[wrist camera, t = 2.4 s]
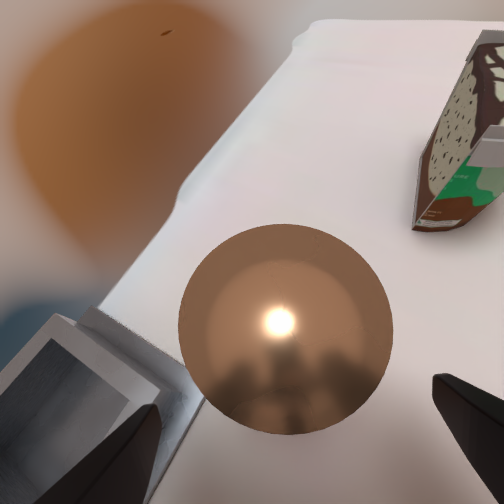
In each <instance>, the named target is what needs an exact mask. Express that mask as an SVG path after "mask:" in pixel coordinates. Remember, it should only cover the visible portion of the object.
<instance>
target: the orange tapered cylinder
mask: <svg viewBox="0 0 504 504" xmlns="http://www.w3.org/2000/svg"><path fill="white" fill-rule="evenodd" d="M178 333H179V343H180V348H181V353H182V356H183V359H184V362H185V365H186V368H187V370H188V372H189V374H190V376H191V378H192V380H193V381H194V383H195V384H196V386H197V387H198V389H199V390H200V392H201V393H202V394H203V395H204V396H205V397H206V399H207V400H208V401H209V402H210V403H211V404H212V405H213V406H214V407H216V408H217V409H218V410H219V411H221V412H222V413H223V414H224V415H226V416H227V417H229V418H231V419H233V420H234V421H236V422H238V423H239V424H242V425H244V426H247V427H249V428H252V429H254V430H258V431H263V432H267V433H271V434H284V435H293V434H305V433H310V432H314V431H318V430H322V429H325V428H327V427H329V426H332V425H334V424H336V423H338V422H340V421H342V420H343V419H345V418H346V417H348V416H349V415H351V414H353V413H354V412H355V411H356V410H357V409H358V408H359V407H360V406H362V405H363V404H364V403H365V402H366V401H367V400H368V398H369V397H370V396H371V394H372V393H373V392H374V391H375V389H376V388H377V386H378V384H379V383H380V381H381V379H382V377H383V375H384V373H385V370H386V368H387V365H388V362H389V359H390V354H391V349H392V344H393V322H392V313H391V309H390V305H389V301H388V298H387V296H386V293H385V290H384V288H383V286H382V284H381V282H380V280H379V279H378V277H377V275H376V274H375V272H374V271H373V270H372V268H371V267H370V265H369V264H368V263H367V262H366V261H365V260H364V259H363V258H362V257H361V255H359V254H358V253H357V252H356V251H355V250H354V249H352V248H351V247H350V246H349V245H347V244H346V243H344V242H343V241H341V240H339V239H338V238H336V237H334V236H332V235H330V234H328V233H325V232H323V231H320V230H317V229H314V228H310V227H306V226H300V225H292V224H273V225H266V226H260V227H256V228H252V229H249V230H247V231H244V232H241V233H239V234H237V235H235V236H233V237H231V238H229V239H228V240H226V241H224V242H223V243H221V244H220V245H219V246H218V247H216V248H215V249H214V250H212V251H211V252H210V253H209V254H208V255H207V256H206V257H205V258H204V260H203V261H202V262H201V263H200V265H199V266H198V267H197V269H196V270H195V272H194V273H193V275H192V276H191V278H190V280H189V282H188V284H187V287H186V289H185V292H184V295H183V298H182V301H181V306H180V311H179V321H178Z"/></svg>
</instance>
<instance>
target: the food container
mask: <svg viewBox="0 0 504 504" xmlns="http://www.w3.org/2000/svg"><path fill="white" fill-rule="evenodd" d="M466 61H467V62H466V64H465V66H464V69H463V71H462V73H461V75H460V77H459V79H458V81H457V83H456V85H455V87H454V89H453V91H452V93H451V95H450V97H449V99H448V101H447V103H446V106H445V108H444V110H443V112H442V114H441V116H440V118H439V120H438V122H437V124H436V126H435V128H434V130H433V132H432V134H431V136H430V138H429V141H428V143H427V145H426V147H425V149H424V151H423V153H422V155H421V157H420V162H419V171H418V179H417V188H416V196H415V205H414V214H413V222H412V230H415V231H422V232H439V231H449V230H452V229H455V228H458V227H461V226H464V225H465V224H466V223H467V222H468V221H470V220H471V219H472V218H473V217H475V216H476V215H477V214H478V213H479V212H480V211H482V210H483V209H484V208H485V207H486V206H487V205H489V204H490V203H491V202H492V201H493V200H494V199H496V198H497V197H498V196H499V195H500V194H501V193H503V192H504V31H502V30H482V32H481V34H480V36H479V38H478V39H477V40H476V42H475V44H474V46H473V47H472V49H471V51H470V53H469V55H468V56H467V58H466Z"/></svg>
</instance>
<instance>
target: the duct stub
mask: <svg viewBox="0 0 504 504" xmlns="http://www.w3.org/2000/svg"><path fill="white" fill-rule="evenodd" d="M205 398H206V397H205V396H204V395H203V394H202V393H201V392H200V390H199V389H198V387H197V386H196V384H195V383H194V381H193V380H192V378H191V376H190V374H189V372H188V370H187V368H186V367H184V366H183V365H181V364H180V363H178V362H177V361H175V360H174V359H172V358H171V357H169V356H168V355H166V354H165V353H163V352H162V351H160V350H159V349H157V348H156V347H154V346H153V345H151V344H150V343H148V342H146V341H145V340H143V339H142V338H140V337H139V336H137V335H136V334H134V333H133V332H131V331H130V330H128V329H127V328H125V327H124V326H122V325H121V324H119V323H118V322H116V321H115V320H113V319H112V318H110V317H109V316H107V315H106V314H104V313H103V312H101V311H100V310H98V309H97V308H95V307H93V306H90V308H89V309H88V310H87V311H86V312H85V313H84V315H83V316H82V317H81V318H80V319H79V320H78V322H76V321H74V320H72V319H69V318H66V317H64V316H62V315H60V314H57V313H54V314H53V315H52V317H51V318H50V319H49V320H48V321H47V322H46V323H45V324H44V325H43V326H42V328H41V329H40V330H39V331H38V332H37V333H36V334H35V335H34V336H33V337H32V338H31V339H30V341H29V342H28V343H27V344H26V345H25V346H24V347H23V348H22V349H21V350H20V352H19V353H18V354H17V355H16V356H15V357H14V358H13V359H12V360H11V361H10V362H9V364H8V365H7V366H6V367H5V368H4V369H3V370H2V371H1V372H0V504H33V503H34V502H35V501H36V500H37V499H38V498H39V497H40V496H41V495H43V494H44V493H45V492H46V491H47V490H48V489H49V488H50V487H52V486H53V485H54V484H55V483H56V482H57V481H58V480H59V479H60V478H62V477H63V476H64V475H65V474H66V473H67V472H68V471H69V470H71V469H72V468H73V467H74V466H75V465H76V464H77V463H78V462H79V461H81V460H82V459H83V458H84V457H85V456H86V455H87V454H88V453H90V452H91V451H92V450H93V449H94V448H95V447H96V446H97V445H98V444H100V443H101V442H102V441H103V440H104V439H105V438H106V437H107V436H109V435H110V434H111V433H112V432H113V431H114V430H115V429H116V428H117V427H119V426H120V425H121V424H122V423H123V422H124V421H125V420H126V419H128V418H129V417H130V416H131V415H132V414H133V413H134V412H135V411H136V410H138V409H139V408H140V407H141V406H142V405H144V404H150V403H155V404H157V406H158V410H159V413H160V417H161V420H162V432H161V437H160V441H159V445H158V449H157V453H156V458H155V462H154V466H153V470H152V474H151V478H150V482H149V486H148V489H147V492H146V495H145V499H144V502H143V504H147V503H148V501H149V500H150V498H151V496H152V494H153V492H154V491H155V489H156V487H157V485H158V483H159V482H160V480H161V478H162V476H163V474H164V472H165V471H166V469H167V467H168V465H169V463H170V462H171V460H172V458H173V456H174V454H175V453H176V451H177V449H178V447H179V445H180V444H181V442H182V440H183V438H184V436H185V435H186V433H187V431H188V429H189V427H190V426H191V424H192V422H193V420H194V418H195V416H196V415H197V413H198V411H199V409H200V407H201V406H202V404H203V402H204V400H205Z"/></svg>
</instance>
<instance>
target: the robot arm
mask: <svg viewBox="0 0 504 504" xmlns="http://www.w3.org/2000/svg"><path fill="white" fill-rule="evenodd" d="M432 397H433V401H434V403H435V405H436V407H437V409H438V411H439V412H440V414H441V416H442V417H443V419H444V421H445V422H446V424H447V426H448V427H449V429H450V431H451V432H452V434H453V436H454V438H455V439H456V441H457V443H458V444H459V446H460V448H461V449H462V451H463V453H464V454H465V456H466V457H467V459H468V461H469V462H470V463H471V465H472V466H473V468H474V469H475V471H476V472H477V474H478V475H479V476H480V478H481V479H482V481H483V482H484V483H485V485H486V486H487V488H488V489H489V491H490V492H491V493H492V495H493V496H494V498H495V499H496V500H497V502H498V503H499V504H504V400H502V399H500V398H498V397H496V396H494V395H492V394H490V393H488V392H486V391H484V390H481V389H479V388H477V387H475V386H473V385H471V384H469V383H467V382H465V381H463V380H461V379H459V378H457V377H455V376H453V375H451V374H448V373H442V374H435V375H434V376H433V380H432ZM161 432H162V420H161V417H160V413H159V410H158V406H157V404H155V403H150V404H144V405H142V406H141V407H140V408H139V409H138V410H136V411H135V412H134V413H133V414H132V415H131V416H130V417H129V418H128V419H126V420H125V421H124V422H123V423H122V424H121V425H120V426H119V427H117V428H116V429H115V430H114V431H113V432H112V433H111V434H110V435H109V436H107V437H106V438H105V439H104V440H103V441H102V442H101V443H100V444H98V445H97V446H96V447H95V448H94V449H93V450H92V451H91V452H90V453H88V454H87V455H86V456H85V457H84V458H83V459H82V460H81V461H79V462H78V463H77V464H76V465H75V466H74V467H73V468H72V469H71V470H69V471H68V472H67V473H66V474H65V475H64V476H63V477H62V478H60V479H59V480H58V481H57V482H56V483H55V484H54V485H53V486H52V487H50V488H49V489H48V490H47V491H46V492H45V493H44V494H43V495H41V496H40V497H39V498H38V499H37V500H36V501H35V502H34V503H33V504H143V502H144V499H145V495H146V492H147V489H148V486H149V482H150V478H151V474H152V470H153V466H154V462H155V458H156V453H157V449H158V445H159V441H160V437H161Z"/></svg>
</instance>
